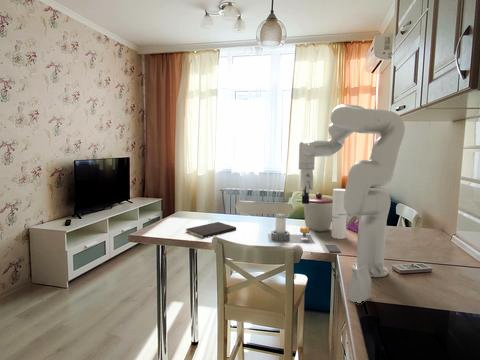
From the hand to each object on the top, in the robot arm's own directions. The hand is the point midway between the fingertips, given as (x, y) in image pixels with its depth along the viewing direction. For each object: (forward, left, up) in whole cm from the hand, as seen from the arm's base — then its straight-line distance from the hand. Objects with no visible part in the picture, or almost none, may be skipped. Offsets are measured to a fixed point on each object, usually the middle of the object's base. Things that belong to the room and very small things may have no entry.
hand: (305, 203), depth 150 cm
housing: (0, +7, -19) cm, 20 cm away
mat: (-12, -9, -19) cm, 24 cm away
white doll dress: (-58, -8, -19) cm, 62 cm away
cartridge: (0, +12, -18) cm, 22 cm away
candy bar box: (+21, -32, -19) cm, 43 cm away
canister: (+22, -11, -19) cm, 31 cm away
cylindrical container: (+8, -19, -19) cm, 28 cm away
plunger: (0, 0, -17) cm, 17 cm away
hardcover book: (+14, +49, -20) cm, 55 cm away
